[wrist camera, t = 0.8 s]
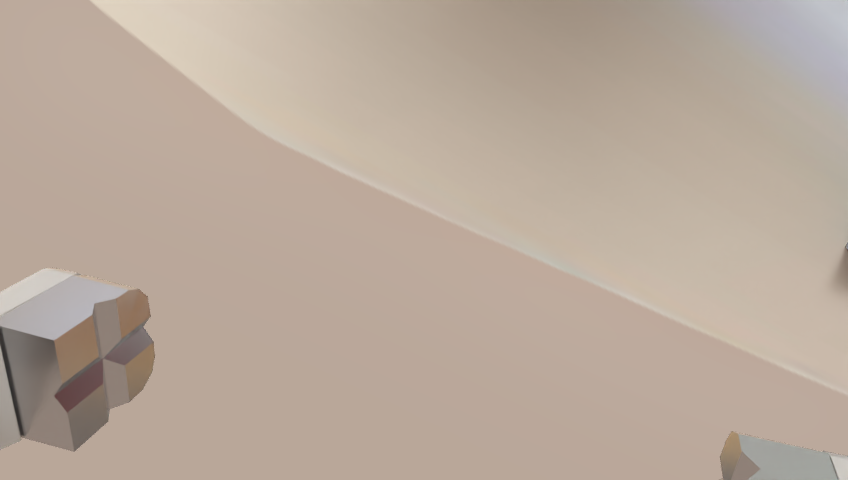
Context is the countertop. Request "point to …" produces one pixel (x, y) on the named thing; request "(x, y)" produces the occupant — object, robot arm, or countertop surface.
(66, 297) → the robot arm
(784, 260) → the countertop surface
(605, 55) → the countertop surface
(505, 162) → the countertop surface
